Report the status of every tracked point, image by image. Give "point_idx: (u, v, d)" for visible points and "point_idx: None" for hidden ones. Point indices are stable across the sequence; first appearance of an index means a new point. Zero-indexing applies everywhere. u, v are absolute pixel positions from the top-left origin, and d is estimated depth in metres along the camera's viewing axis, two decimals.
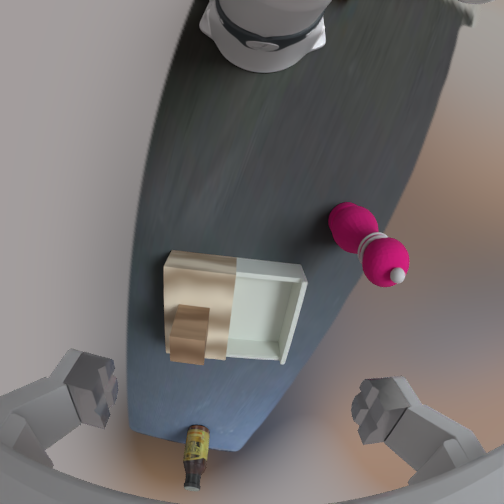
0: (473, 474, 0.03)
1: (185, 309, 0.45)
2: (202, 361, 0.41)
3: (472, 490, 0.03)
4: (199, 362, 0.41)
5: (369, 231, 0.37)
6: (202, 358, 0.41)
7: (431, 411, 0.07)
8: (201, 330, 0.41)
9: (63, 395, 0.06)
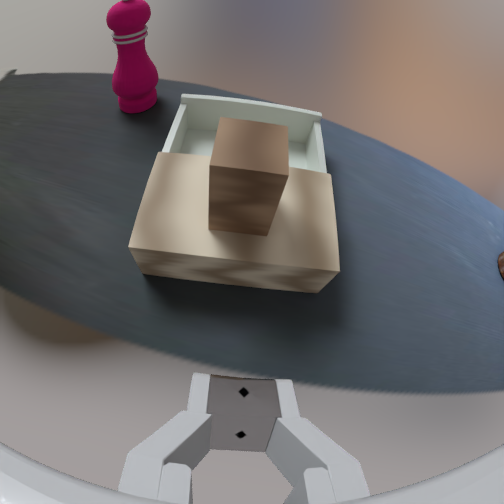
0: (473, 474, 0.03)
1: None
2: (277, 126, 0.20)
3: (472, 490, 0.03)
4: (281, 130, 0.20)
5: None
6: (268, 124, 0.20)
7: (312, 427, 0.06)
8: None
9: (207, 426, 0.06)
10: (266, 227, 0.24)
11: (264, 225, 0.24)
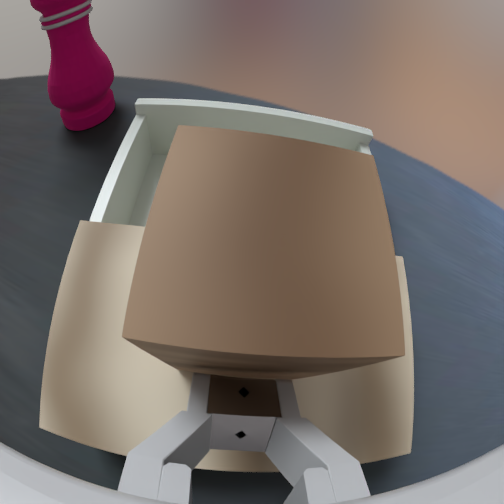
0: (473, 474, 0.03)
1: None
2: (347, 154, 0.07)
3: (472, 490, 0.03)
4: (360, 168, 0.07)
5: None
6: (323, 148, 0.07)
7: (312, 427, 0.06)
8: None
9: (207, 426, 0.06)
10: (298, 377, 0.11)
11: (294, 377, 0.10)
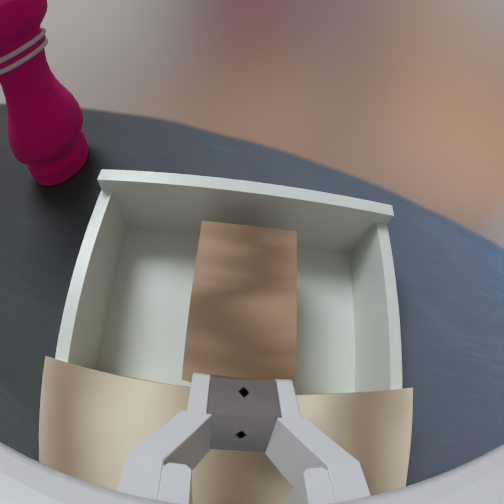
0: (473, 474, 0.03)
1: None
2: None
3: (472, 490, 0.03)
4: None
5: None
6: None
7: (312, 427, 0.06)
8: None
9: (207, 426, 0.06)
10: (290, 356, 0.13)
11: (285, 350, 0.13)
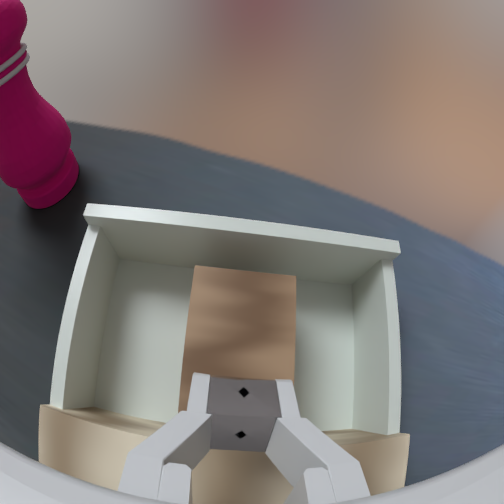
0: (473, 474, 0.03)
1: None
2: None
3: (472, 490, 0.03)
4: None
5: None
6: None
7: (312, 427, 0.06)
8: None
9: (207, 426, 0.06)
10: None
11: None
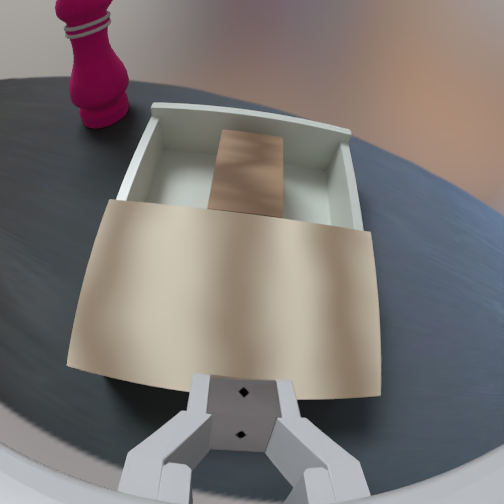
0: (473, 474, 0.03)
1: None
2: None
3: (472, 490, 0.03)
4: None
5: None
6: None
7: (312, 427, 0.06)
8: None
9: (207, 426, 0.06)
10: (279, 199, 0.20)
11: (276, 196, 0.20)
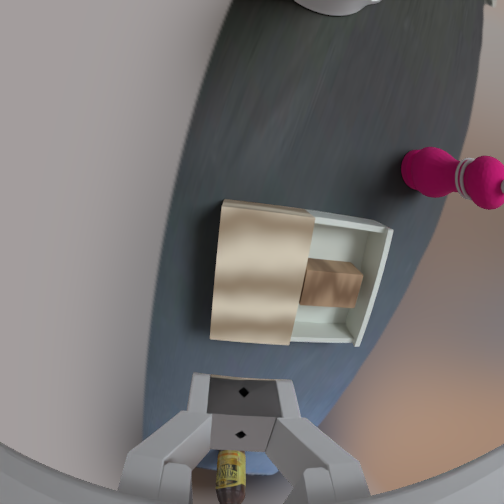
0: (473, 474, 0.03)
1: (314, 267, 0.38)
2: None
3: (472, 490, 0.03)
4: None
5: (458, 161, 0.28)
6: None
7: (313, 427, 0.06)
8: (339, 262, 0.41)
9: (207, 426, 0.06)
10: (310, 304, 0.38)
11: (312, 302, 0.38)
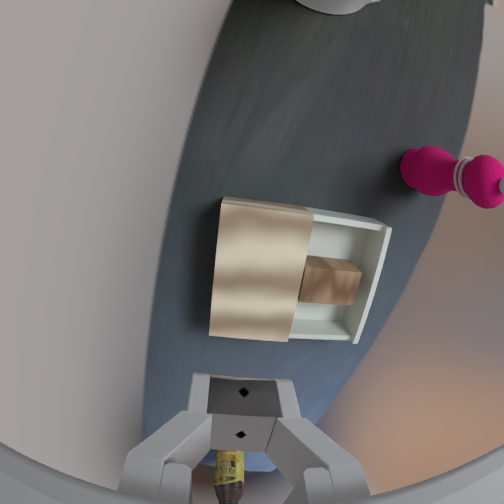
0: (473, 474, 0.03)
1: (312, 264, 0.38)
2: None
3: (472, 490, 0.03)
4: None
5: (457, 160, 0.28)
6: None
7: (312, 427, 0.06)
8: (337, 260, 0.42)
9: (207, 426, 0.06)
10: (309, 301, 0.39)
11: (311, 299, 0.39)
